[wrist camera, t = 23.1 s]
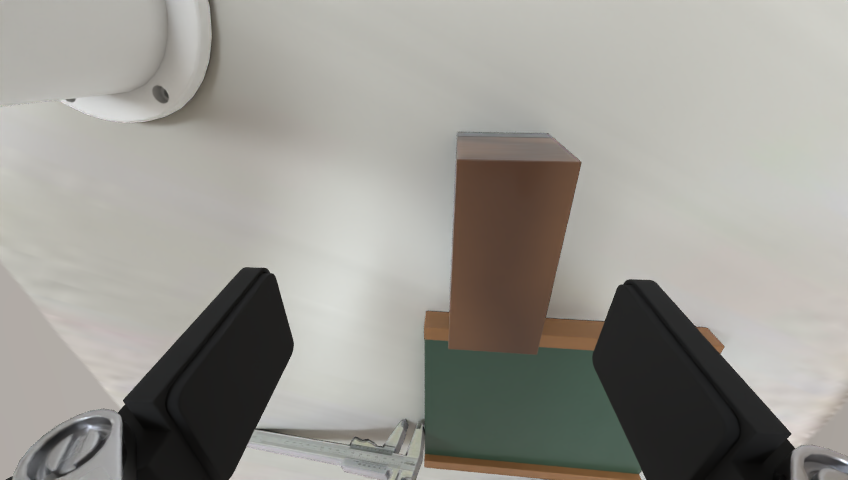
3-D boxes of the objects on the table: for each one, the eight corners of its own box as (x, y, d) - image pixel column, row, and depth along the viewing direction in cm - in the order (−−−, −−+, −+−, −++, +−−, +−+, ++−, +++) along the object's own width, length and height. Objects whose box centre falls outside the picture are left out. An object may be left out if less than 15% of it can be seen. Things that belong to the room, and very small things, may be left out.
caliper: (423, 416, 32) (416, 492, 26) (426, 423, 32) (419, 499, 27) (238, 428, 36) (199, 497, 30) (243, 434, 36) (205, 503, 31)
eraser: (450, 289, 24) (448, 349, 19) (457, 131, 19) (456, 159, 14) (520, 293, 24) (537, 355, 19) (549, 132, 18) (582, 161, 13)
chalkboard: (425, 448, 34) (424, 467, 33) (426, 310, 25) (424, 327, 24) (629, 467, 32) (638, 488, 31) (707, 327, 24) (725, 346, 22)
